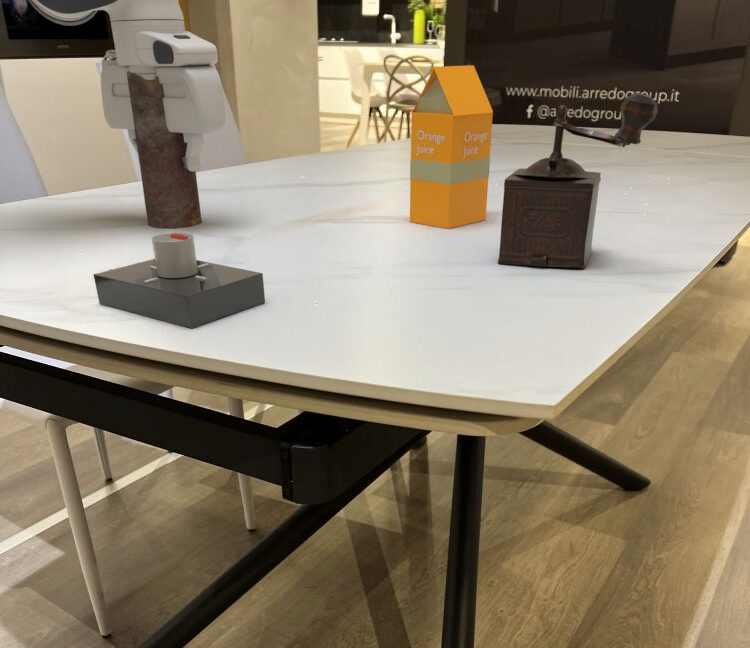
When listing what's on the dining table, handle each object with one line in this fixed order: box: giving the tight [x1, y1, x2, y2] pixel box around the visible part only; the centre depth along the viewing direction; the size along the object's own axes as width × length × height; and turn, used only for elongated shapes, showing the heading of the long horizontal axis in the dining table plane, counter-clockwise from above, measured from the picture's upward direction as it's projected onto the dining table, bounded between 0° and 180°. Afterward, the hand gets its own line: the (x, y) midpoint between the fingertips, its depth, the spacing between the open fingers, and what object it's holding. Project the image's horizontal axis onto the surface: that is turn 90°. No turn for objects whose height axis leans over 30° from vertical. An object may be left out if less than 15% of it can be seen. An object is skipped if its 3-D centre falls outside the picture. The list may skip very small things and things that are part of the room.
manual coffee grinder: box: [497, 92, 659, 269], centre depth 86 cm, size 16×11×18 cm
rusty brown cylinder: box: [127, 71, 203, 230], centre depth 99 cm, size 8×7×20 cm
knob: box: [151, 232, 198, 278], centre depth 74 cm, size 4×4×4 cm
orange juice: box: [409, 64, 494, 230], centre depth 106 cm, size 8×9×20 cm
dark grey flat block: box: [93, 258, 266, 329], centre depth 75 cm, size 14×10×3 cm
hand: (170, 168), depth 100 cm, fingers open, 7 cm apart
